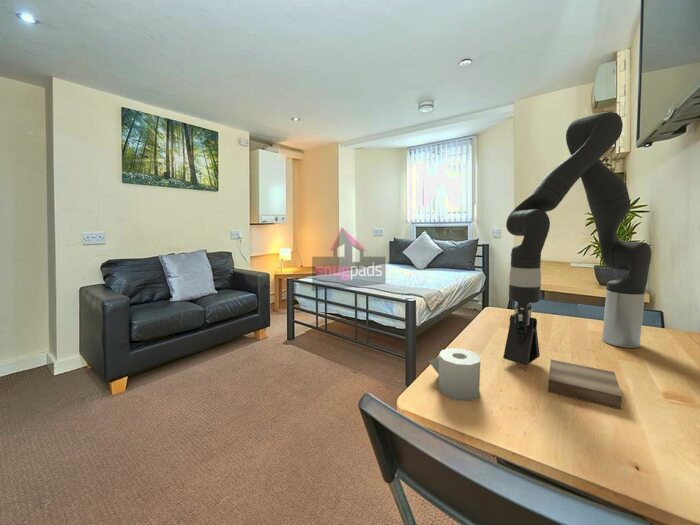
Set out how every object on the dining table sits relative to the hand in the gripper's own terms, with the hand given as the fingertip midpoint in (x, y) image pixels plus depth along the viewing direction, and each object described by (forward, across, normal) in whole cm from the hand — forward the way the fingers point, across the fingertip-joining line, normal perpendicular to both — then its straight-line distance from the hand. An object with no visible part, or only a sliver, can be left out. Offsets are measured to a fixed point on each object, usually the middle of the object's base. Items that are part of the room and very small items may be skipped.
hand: (522, 343), depth 85 cm
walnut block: (+6, -6, -13) cm, 16 cm away
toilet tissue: (+6, -23, +12) cm, 26 cm away
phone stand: (+4, 0, 0) cm, 4 cm away
